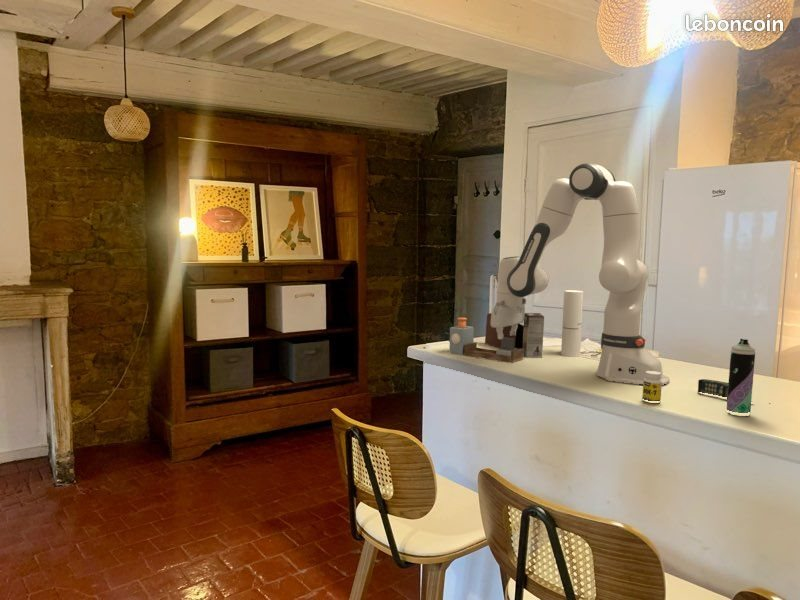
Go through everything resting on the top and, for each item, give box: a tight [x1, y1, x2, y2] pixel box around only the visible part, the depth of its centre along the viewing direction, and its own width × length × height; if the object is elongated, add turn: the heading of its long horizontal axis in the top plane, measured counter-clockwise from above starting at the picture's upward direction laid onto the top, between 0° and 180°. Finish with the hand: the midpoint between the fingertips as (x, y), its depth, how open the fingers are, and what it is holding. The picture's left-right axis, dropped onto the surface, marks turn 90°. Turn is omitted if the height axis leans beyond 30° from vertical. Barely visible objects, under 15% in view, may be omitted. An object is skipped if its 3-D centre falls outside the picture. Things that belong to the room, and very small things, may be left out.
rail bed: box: [463, 341, 524, 364], centre depth 223 cm, size 21×8×4 cm, turn 52°
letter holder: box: [484, 312, 524, 349], centre depth 245 cm, size 10×20×14 cm, turn 27°
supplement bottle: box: [641, 371, 663, 402], centre depth 165 cm, size 5×5×8 cm
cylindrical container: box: [560, 289, 584, 358], centre depth 229 cm, size 7×7×25 cm
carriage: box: [495, 337, 519, 357], centre depth 219 cm, size 6×6×7 cm
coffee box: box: [523, 312, 545, 359], centre depth 228 cm, size 9×6×16 cm
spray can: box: [726, 338, 756, 413], centre depth 154 cm, size 6×6×20 cm
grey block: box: [448, 325, 475, 356], centre depth 231 cm, size 6×8×10 cm
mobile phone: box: [697, 378, 729, 397], centre depth 170 cm, size 5×3×15 cm
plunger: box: [457, 317, 468, 328], centre depth 231 cm, size 4×4×7 cm
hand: (506, 337), depth 219 cm, fingers open, 8 cm apart
